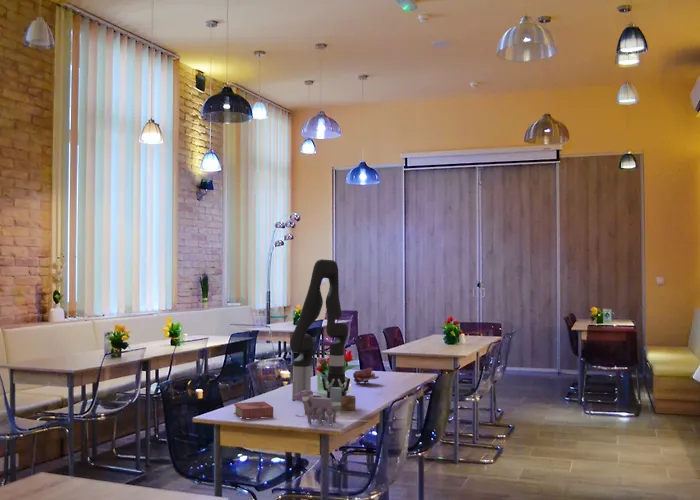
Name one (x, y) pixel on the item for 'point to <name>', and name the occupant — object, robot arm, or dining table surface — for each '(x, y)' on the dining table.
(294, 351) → the robot arm
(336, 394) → the grey cube
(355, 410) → the build board
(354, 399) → the brown wooden cube
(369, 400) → the dining table surface
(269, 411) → the book
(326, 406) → the toy sheep
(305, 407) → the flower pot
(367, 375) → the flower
